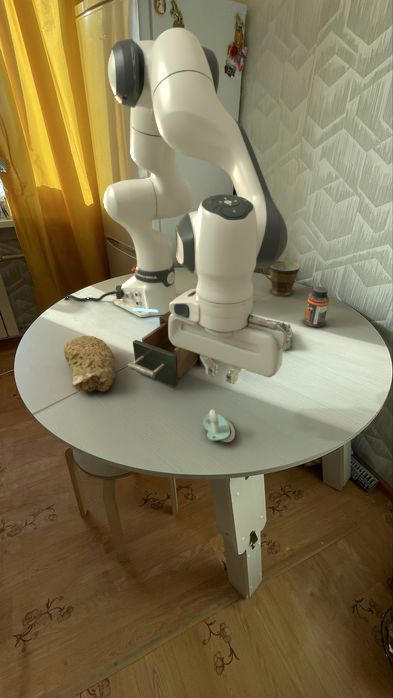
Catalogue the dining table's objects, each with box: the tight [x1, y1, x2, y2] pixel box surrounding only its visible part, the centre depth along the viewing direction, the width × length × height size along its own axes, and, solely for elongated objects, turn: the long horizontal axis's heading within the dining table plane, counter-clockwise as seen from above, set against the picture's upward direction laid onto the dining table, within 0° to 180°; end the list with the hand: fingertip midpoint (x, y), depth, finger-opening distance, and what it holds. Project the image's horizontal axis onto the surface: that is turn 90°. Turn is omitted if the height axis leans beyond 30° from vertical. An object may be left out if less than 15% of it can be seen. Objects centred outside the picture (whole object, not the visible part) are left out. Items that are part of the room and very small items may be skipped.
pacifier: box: [202, 408, 236, 443], centre depth 69 cm, size 7×6×6 cm
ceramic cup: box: [260, 259, 301, 297], centre depth 124 cm, size 13×10×10 cm
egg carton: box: [274, 320, 293, 351], centre depth 99 cm, size 11×8×4 cm
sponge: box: [63, 335, 116, 393], centre depth 87 cm, size 13×8×20 cm
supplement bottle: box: [303, 286, 330, 328], centre depth 105 cm, size 6×6×11 cm
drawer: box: [127, 322, 199, 388], centre depth 85 cm, size 19×11×9 cm, turn 148°
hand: (221, 377), depth 63 cm, fingers open, 3 cm apart
